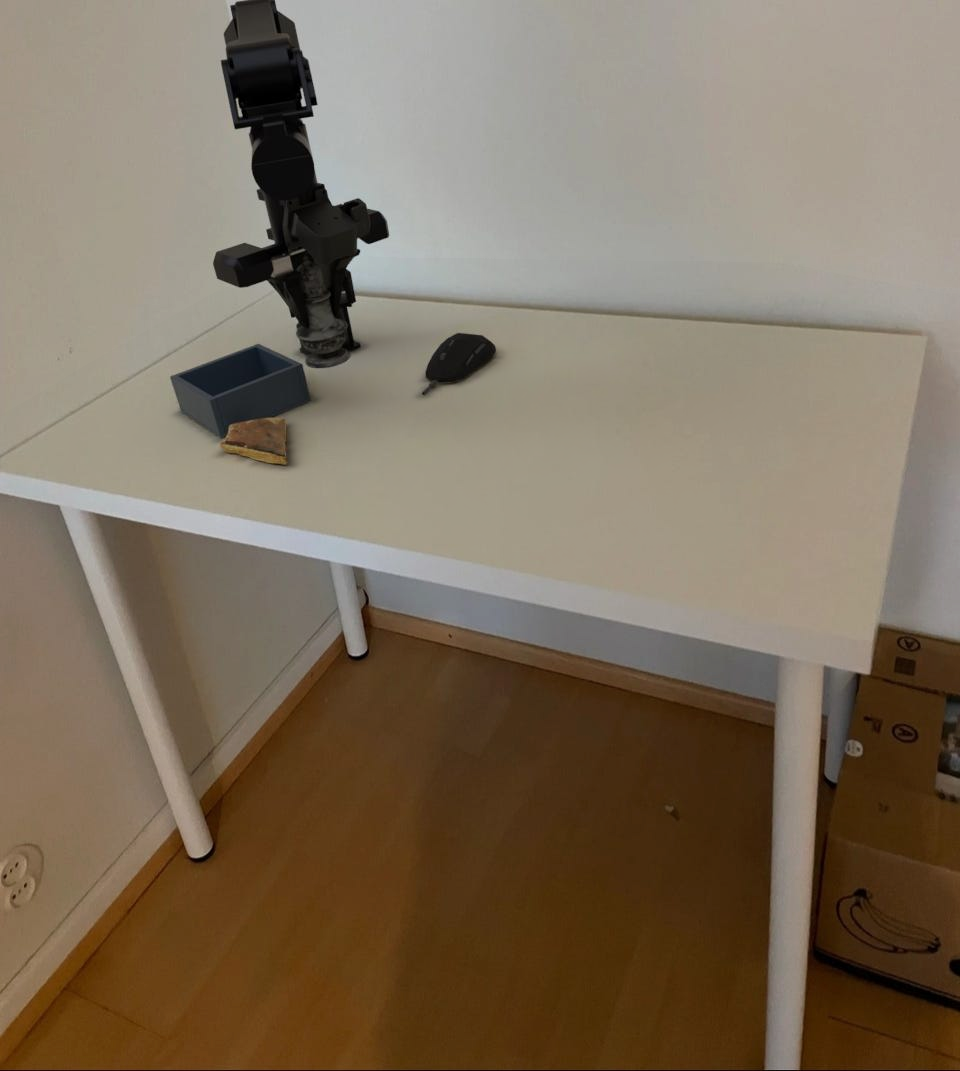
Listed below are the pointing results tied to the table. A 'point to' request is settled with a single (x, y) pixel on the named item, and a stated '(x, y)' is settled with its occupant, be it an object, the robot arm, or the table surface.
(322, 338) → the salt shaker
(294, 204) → the robot arm
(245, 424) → the shard
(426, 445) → the table surface
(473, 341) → the gaming mouse
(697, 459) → the table surface
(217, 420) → the bin
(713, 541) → the table surface
